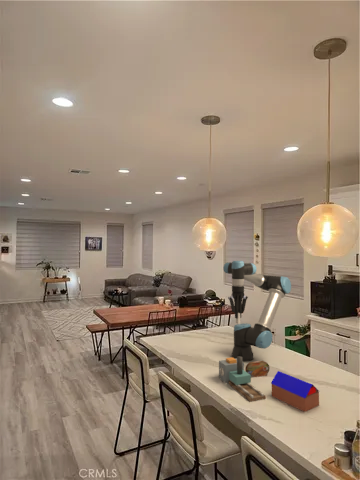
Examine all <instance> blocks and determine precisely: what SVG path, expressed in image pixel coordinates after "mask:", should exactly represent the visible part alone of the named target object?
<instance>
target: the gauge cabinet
mask: <svg viewBox="0 0 360 480" xmlns="http://www.w3.org/2000/svg"><path fill="white" fill-rule="evenodd" d="M235 359H236V360H237V358H235ZM243 370H244V371H245V363H244V362H243ZM232 371H237V363H232V364H229V363H228V362H226V359H221V360H218V378H219V379H220V380H221V381H222V382H224V383H225V384H229V381H230V379H229V372H232Z"/></svg>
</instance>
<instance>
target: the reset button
mask: <svg viewBox="0 0 360 480" xmlns="http://www.w3.org/2000/svg"><path fill="white" fill-rule="evenodd" d="M225 360H226V362H228V363H229V364H232V363H237V360H236V359H234V358H233V357H232V356H231V357H226V358H225Z"/></svg>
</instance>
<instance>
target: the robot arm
mask: <svg viewBox="0 0 360 480" xmlns="http://www.w3.org/2000/svg"><path fill="white" fill-rule="evenodd" d="M222 270H223V272H224V273H225V274H228V275H231V285H232V286H231V295H230V296H228V297H227V298H228V300H229V304H230V309H231V312H232V313H234V318H235V323H236V324H234V327H233V348H232V351H231V358H232V357H233V358H234V359H235V358H237V356H241V357H242V360H243V362H249V361H250V362H252V360H254V358H255V357H254V352H253V348H252V347H256V348H258V349H262V350H263V349H267V348H269V347H270V346H271V344H272V343H273V338H274V337H273V333H272V330H271V327H272V325H273V324H272V323H273V322H274V319H275V317H276V314H277V311H278V308H279V305H280V303H281V300H282V299H283V298H285V297H286V294H289V293H291V290H292V283H291V280H290V278H289V277H287V276H283V275H269V274H268V275H266V274H261V273H257V266H256V265H255V264H254V263H251V262H249V263H247V262H246V263H245V262H244V260H232V261H231V262H225V263H224V265H223V269H222ZM245 281H247V282H249V283H251V284H253V286H254V287H257V288H259V289H262V290H264V291H266V292H267V291H268V293H269V294H268V297H267V299H266V301H265V304H264V306H263V309H262V311H261V314H260V317H259V319H258V321H257V322H256V323H254V326H253V327H252V325H251V324H250V323H247V322H245V323H241V318H242V314H243V313H244V312H245V310H246V309H245V308H246V303H247V300H248V298H249V296H247V295H245V293H244V292H245Z"/></svg>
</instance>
